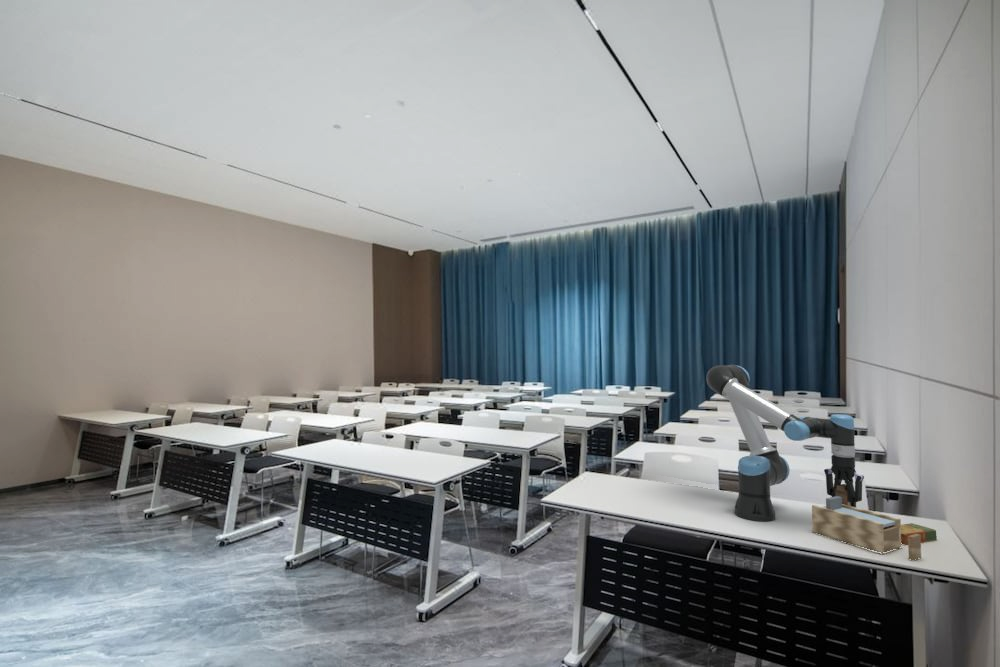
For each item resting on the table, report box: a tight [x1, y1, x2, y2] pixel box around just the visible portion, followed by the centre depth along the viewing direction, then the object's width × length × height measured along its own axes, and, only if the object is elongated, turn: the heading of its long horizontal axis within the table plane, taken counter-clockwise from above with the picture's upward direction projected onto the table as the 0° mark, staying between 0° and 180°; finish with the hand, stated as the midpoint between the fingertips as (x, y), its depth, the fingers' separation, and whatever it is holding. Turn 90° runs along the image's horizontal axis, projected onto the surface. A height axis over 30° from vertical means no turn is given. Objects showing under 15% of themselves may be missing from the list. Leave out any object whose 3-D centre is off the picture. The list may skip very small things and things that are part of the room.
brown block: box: [835, 483, 850, 505], centre depth 193 cm, size 5×4×14 cm
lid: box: [822, 496, 895, 528], centre depth 180 cm, size 21×9×5 cm, turn 27°
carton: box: [901, 522, 938, 546], centre depth 181 cm, size 8×16×4 cm, turn 108°
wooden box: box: [811, 504, 922, 561], centre depth 177 cm, size 30×12×10 cm, turn 27°
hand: (844, 516), depth 192 cm, fingers closed on brown block, 4 cm apart
